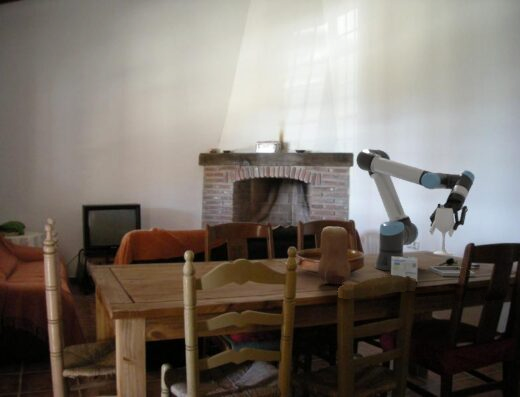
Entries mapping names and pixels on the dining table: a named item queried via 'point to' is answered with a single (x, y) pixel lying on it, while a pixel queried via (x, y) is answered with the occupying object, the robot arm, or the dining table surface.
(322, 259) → the butternut squash
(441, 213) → the wineglass
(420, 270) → the dining table surface
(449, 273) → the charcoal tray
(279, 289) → the dining table surface
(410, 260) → the light bulb box
